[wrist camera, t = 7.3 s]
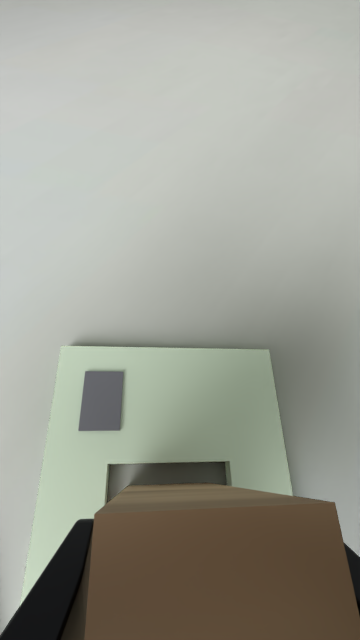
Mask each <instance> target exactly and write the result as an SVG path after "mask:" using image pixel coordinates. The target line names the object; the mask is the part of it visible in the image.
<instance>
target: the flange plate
mask: <svg viewBox="0 0 360 640" xmlns="http://www.w3.org/2000/svg"><path fill="white" fill-rule="evenodd" d="M190 462H225V468H226V481H227V486H232V487H239V488H245V489H251V490H258V491H264V492H271V493H277V494H283V495H290V496H293V493H292V487H291V480H290V474H289V468H288V462H287V456H286V450H285V444H284V438H283V432H282V426H281V419H280V413H279V407H278V401H277V395H276V389H275V383H274V377H273V371H272V365H271V358H270V352H269V349H216V348H158V347H101V346H61V349H60V356H59V362H58V368H57V374H56V381H55V387H54V393H53V400H52V406H51V412H50V418H49V425H48V431H47V437H46V444H45V450H44V456H43V463H42V469H41V475H40V481H39V488H38V494H37V500H36V507H35V513H34V519H33V525H32V532H31V538H30V544H29V551H28V557H27V563H26V570H25V576H24V582H23V588H22V595H21V601H20V605H21V604H22V602H23V601H24V599H25V598H26V596H27V595H28V593H29V592H30V590H31V589H32V587H33V586H34V584H35V583H36V581H37V580H38V578H39V577H40V575H41V574H42V572H43V571H44V569H45V568H46V566H47V565H48V563H49V562H50V560H51V559H52V557H53V556H54V554H55V552H56V551H57V549H58V548H59V546H60V545H61V543H62V542H63V540H64V539H65V537H66V536H67V534H68V533H69V531H70V530H71V528H72V527H73V525H74V524H75V523H76V521H77V520H79V519H94V514H95V513H96V512H97V511H98V510H100V509H101V508H102V507H103V506H104V505H106V504H107V491H108V477H109V464H148V463H190Z"/></svg>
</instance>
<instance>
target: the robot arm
mask: <svg viewBox="0 0 360 640" xmlns="http://www.w3.org/2000/svg"><path fill="white" fill-rule="evenodd" d="M93 524H94V519H79V520H77V521H76V523H75V524H74V525H73V527H72V528H71V530H70V531H69V533H68V534H67V536H66V537H65V539H64V540H63V542H62V543H61V545H60V546H59V548H58V549H57V551H56V552H55V554H54V556H53V557H52V559H51V560H50V562H49V563H48V565H47V566H46V568H45V569H44V571H43V572H42V574H41V575H40V577H39V578H38V580H37V581H36V583H35V584H34V586H33V587H32V589H31V590H30V592H29V593H28V595H27V596H26V598H25V599H24V601H23V602H22V604H21V605H20V607H19V608H18V610H17V611H16V613H15V614H14V616H13V617H12V619H11V620H10V622H9V623H8V625H7V626H6V628H5V629H4V631H3V632H2V634H1V635H0V640H84V638H85V625H86V613H87V600H88V587H89V575H90V562H91V550H92V537H93ZM343 543H344V542H343ZM344 547H345V552H346V556H347V561H348V565H349V570H350V575H351V579H352V584H353V588H354V593H355V597H356V602H357V607H358V611H359V616H360V557H359V556H358V555H357V554H356V553H355V552H354V551H353V550H351V549H350V548H349V547H348V546H347V545H346V544H345V543H344Z"/></svg>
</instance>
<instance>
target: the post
mask: <svg viewBox="0 0 360 640" xmlns="http://www.w3.org/2000/svg"><path fill="white" fill-rule="evenodd" d="M84 640H360V616H359V611H358V607H357V602H356V597H355V593H354V588H353V584H352V579H351V575H350V570H349V565H348V561H347V556H346V552H345V547H344V543H343V538H342V534H341V529H340V524H339V520H338V515H337V511H336V506H335V503H334V502H328V501H322V500H315V499H309V498H303V497H296V496H290V495H283V494H277V493H271V492H264V491H258V490H251V489H245V488H239V487H232V486H226V485H220V484H213V483H182V484H156V485H130V486H127V487H126V488H125V489H123V490H122V491H121V492H120V493H119V494H118V495H116V496H115V497H114V498H113V499H112V500H110V501H109V502H108V503H107V504H106V505H104V506H103V507H102V508H101V509H100V510H98V511H97V512H96V513H95V514H94V524H93V537H92V550H91V562H90V575H89V587H88V600H87V613H86V625H85V638H84Z"/></svg>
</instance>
